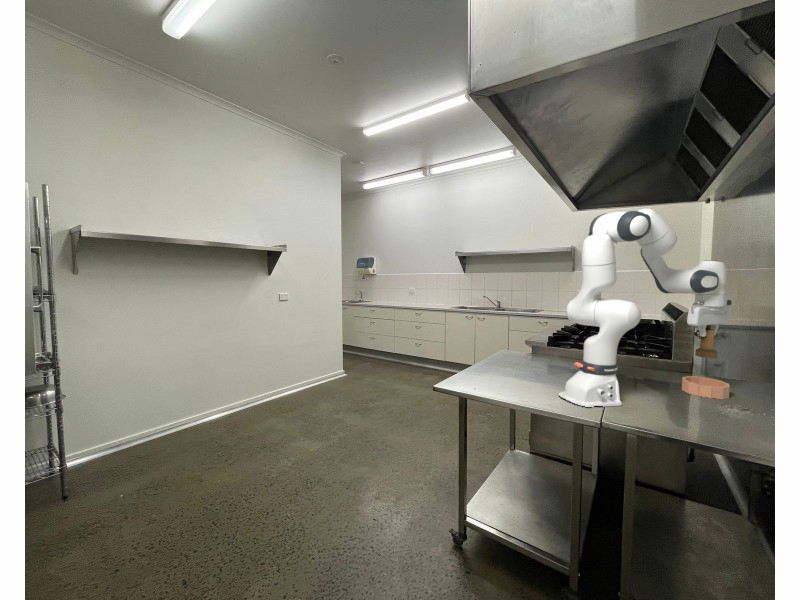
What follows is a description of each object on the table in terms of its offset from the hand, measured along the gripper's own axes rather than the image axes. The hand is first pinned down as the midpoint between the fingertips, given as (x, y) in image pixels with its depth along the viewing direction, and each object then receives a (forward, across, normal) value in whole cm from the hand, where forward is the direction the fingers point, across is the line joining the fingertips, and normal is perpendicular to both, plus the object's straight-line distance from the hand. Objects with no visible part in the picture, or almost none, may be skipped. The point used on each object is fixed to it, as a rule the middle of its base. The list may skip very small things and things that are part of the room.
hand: (707, 335), depth 133 cm
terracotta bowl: (+23, 0, 0) cm, 23 cm away
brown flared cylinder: (+9, 0, 0) cm, 9 cm away
